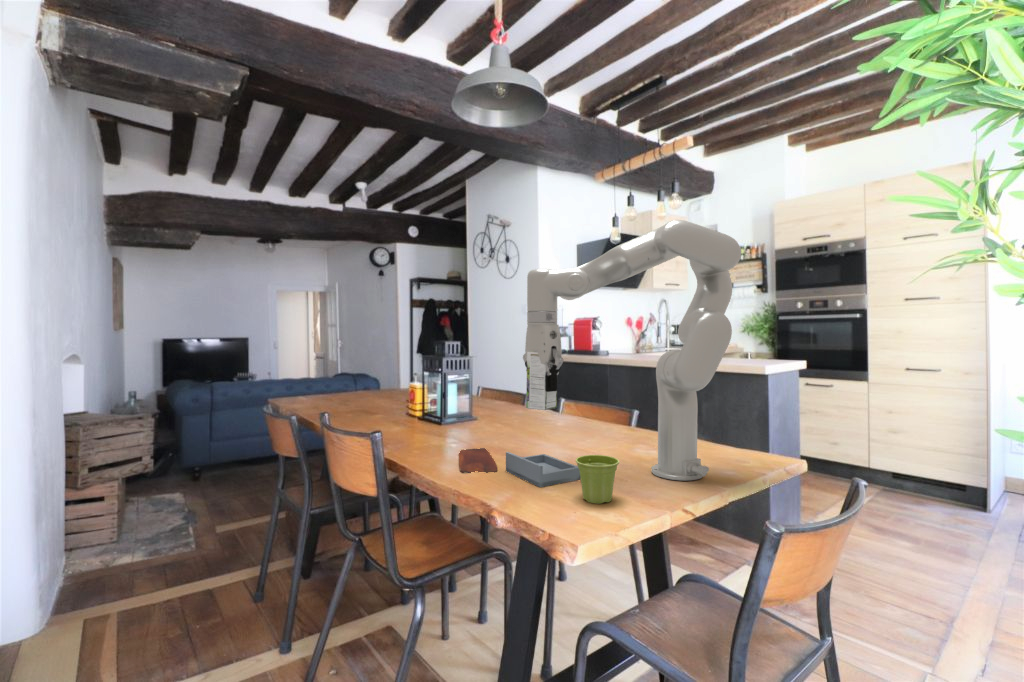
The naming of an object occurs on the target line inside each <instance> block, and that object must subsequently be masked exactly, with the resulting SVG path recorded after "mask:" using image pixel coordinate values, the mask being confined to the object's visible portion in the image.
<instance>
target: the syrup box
mask: <svg viewBox="0 0 1024 682" xmlns="http://www.w3.org/2000/svg"><path fill="white" fill-rule="evenodd" d="M537 352H538V351H529V352H527V368H526V369H527V371H526V403H525V405H526V406H525V408H526V409H530V410H539V411H540V410H541V411H547V410H551V409H556V408H557V407H558V405H557V404H558V390H557V391H552V392H546V391H545V375H547V372H546V365H545V364H542V363H541V361H540V358H539V355H538V353H537ZM549 362H552V361H549ZM551 367H552V366H550V369H551Z"/></svg>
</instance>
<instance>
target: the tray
mask: <svg viewBox="0 0 1024 682" xmlns="http://www.w3.org/2000/svg"><path fill="white" fill-rule="evenodd" d="M506 471H507V472H506ZM505 472H506V473H508V472H509V473H508V474H510V473H511V474H510V475H512V474H513V476H514V475H515V476H514V477H516V476H517V478H519V477H520V478H519V479H521V480H523V479H524V480H523V481H525V480H526V481H525V482H527V481H528V482H527V483H529V484H531V483H532V485H533V484H534V485H533V486H535V485H536V487H538V488H545V487H549V485H550V486H554V484H555V485H560V484H564V482H565V483H569V481H570V482H575V481H579V480H580V481H581V478H580V471H579V469H578V465H575V464H572V463H569V462H567V461H564V460H561V459H559V458H558V457H557V458H556V457H554V456H551V455H548V454H545V453H541V454H535V455H529V456H528V455H527V456H524V457H523V456H520V455H517V454H515V453H512V452H510V451H506V452H505ZM559 483H560V484H559ZM544 486H545V487H544Z"/></svg>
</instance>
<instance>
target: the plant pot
mask: <svg viewBox="0 0 1024 682" xmlns="http://www.w3.org/2000/svg"><path fill="white" fill-rule="evenodd" d="M575 463H576V465H577V466H578V469H579V471H580V485H581V491H582V497H583V500H586V502H587V503H591V504H599V505H601V504H603V503H610V502H611V501H612V500H613V492H614V483H615V475H616V471H617V468H618V466H619V464H620V460H619V458H616V457H614V456H609V455H602V454H588V455H587V454H586V455H581V456H578V457H576V458H575Z"/></svg>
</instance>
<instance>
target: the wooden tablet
mask: <svg viewBox="0 0 1024 682" xmlns="http://www.w3.org/2000/svg"><path fill="white" fill-rule="evenodd" d="M465 449H466V450H464V449H460V450H461V451H460V450H459V451H460V453H459V454H458V463H459V471H460V473H462V474H472V473H471V472H474V473H476V472H475V471H478V472H477V473H479V472H486V473H485V474H489V473H488V472H494V473H497V472H498V465H497V462H496V460H495V459H494V457H493V456H492V454H491V453H490V451H489V450H488V449H487V448H486V449H487V450H488V451H489V452H488V451H487V450H486V449H485V447H480V449H477V448H465ZM490 454H491V455H490ZM492 457H493V458H492ZM494 460H495V461H494Z"/></svg>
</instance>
